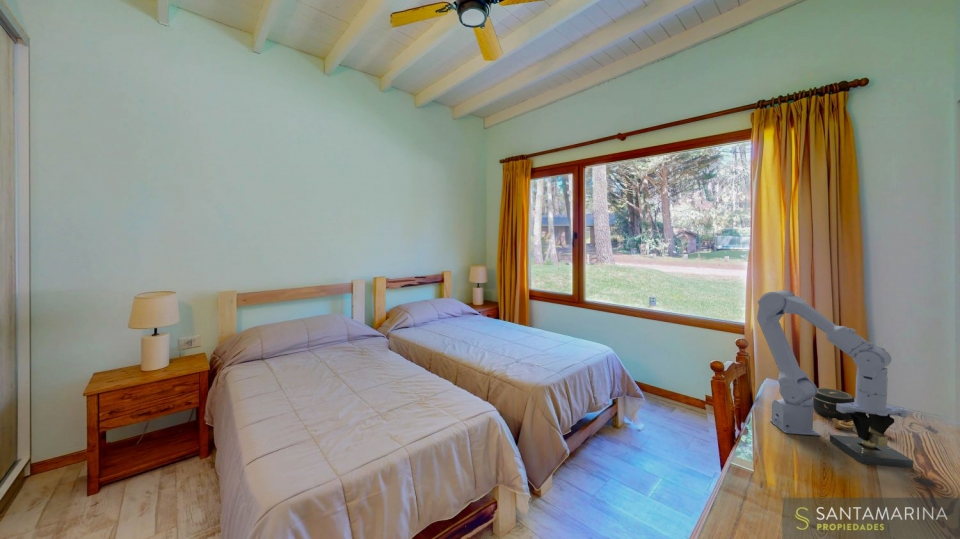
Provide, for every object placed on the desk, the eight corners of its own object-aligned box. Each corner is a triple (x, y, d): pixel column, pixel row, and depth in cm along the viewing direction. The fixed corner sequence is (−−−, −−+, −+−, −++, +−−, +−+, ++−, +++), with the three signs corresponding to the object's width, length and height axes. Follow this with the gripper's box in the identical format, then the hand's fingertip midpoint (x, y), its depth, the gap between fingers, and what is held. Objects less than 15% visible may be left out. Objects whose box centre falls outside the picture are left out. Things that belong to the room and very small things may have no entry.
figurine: (895, 425, 102) (841, 410, 107) (891, 445, 102) (838, 429, 107) (876, 419, 110) (827, 405, 115) (873, 438, 109) (824, 423, 114)
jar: (807, 412, 121) (807, 390, 120) (819, 405, 125) (819, 385, 125) (847, 424, 112) (848, 401, 112) (858, 417, 117) (859, 395, 116)
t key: (851, 442, 100) (852, 422, 100) (861, 442, 100) (862, 422, 99) (876, 458, 92) (877, 436, 92) (887, 459, 92) (888, 437, 92)
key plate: (861, 463, 92) (861, 455, 92) (829, 441, 103) (829, 434, 102) (913, 468, 90) (913, 460, 89) (874, 444, 100) (875, 437, 100)
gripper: (851, 395, 93) (849, 444, 93) (918, 399, 90) (916, 449, 90) (831, 385, 100) (829, 431, 100) (892, 388, 97) (890, 435, 97)
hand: (869, 439), depth 96 cm, fingers closed on t key, 2 cm apart
